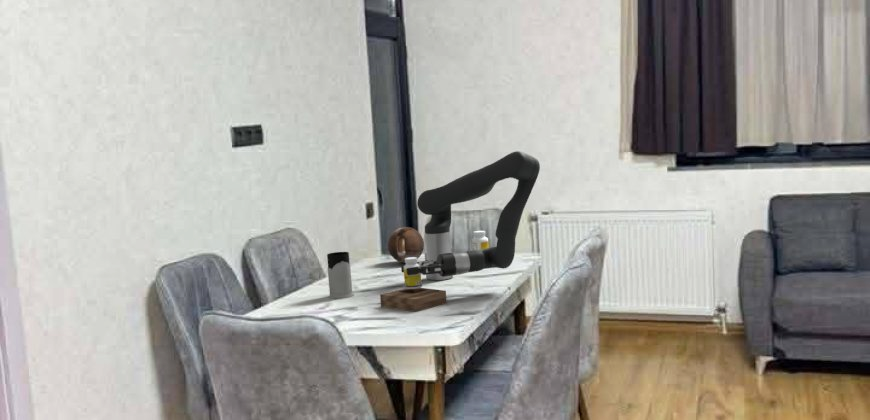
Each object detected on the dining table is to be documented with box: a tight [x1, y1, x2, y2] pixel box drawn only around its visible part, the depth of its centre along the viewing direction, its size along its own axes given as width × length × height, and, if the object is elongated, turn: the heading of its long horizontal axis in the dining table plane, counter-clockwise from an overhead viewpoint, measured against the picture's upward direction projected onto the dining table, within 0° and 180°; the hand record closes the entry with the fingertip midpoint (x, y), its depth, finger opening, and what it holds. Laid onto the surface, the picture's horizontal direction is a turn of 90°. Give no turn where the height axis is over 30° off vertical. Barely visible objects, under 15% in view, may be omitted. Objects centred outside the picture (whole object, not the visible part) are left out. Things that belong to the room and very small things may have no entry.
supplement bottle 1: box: [403, 257, 423, 289], centre depth 288 cm, size 5×5×10 cm
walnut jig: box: [379, 287, 448, 313], centre depth 286 cm, size 16×14×4 cm
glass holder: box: [326, 251, 355, 300], centre depth 311 cm, size 9×14×15 cm, turn 27°
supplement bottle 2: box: [471, 230, 490, 251], centre depth 358 cm, size 7×7×13 cm
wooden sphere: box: [387, 226, 425, 264], centre depth 371 cm, size 15×15×15 cm
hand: (404, 270), depth 287 cm, fingers closed on supplement bottle 1, 5 cm apart
